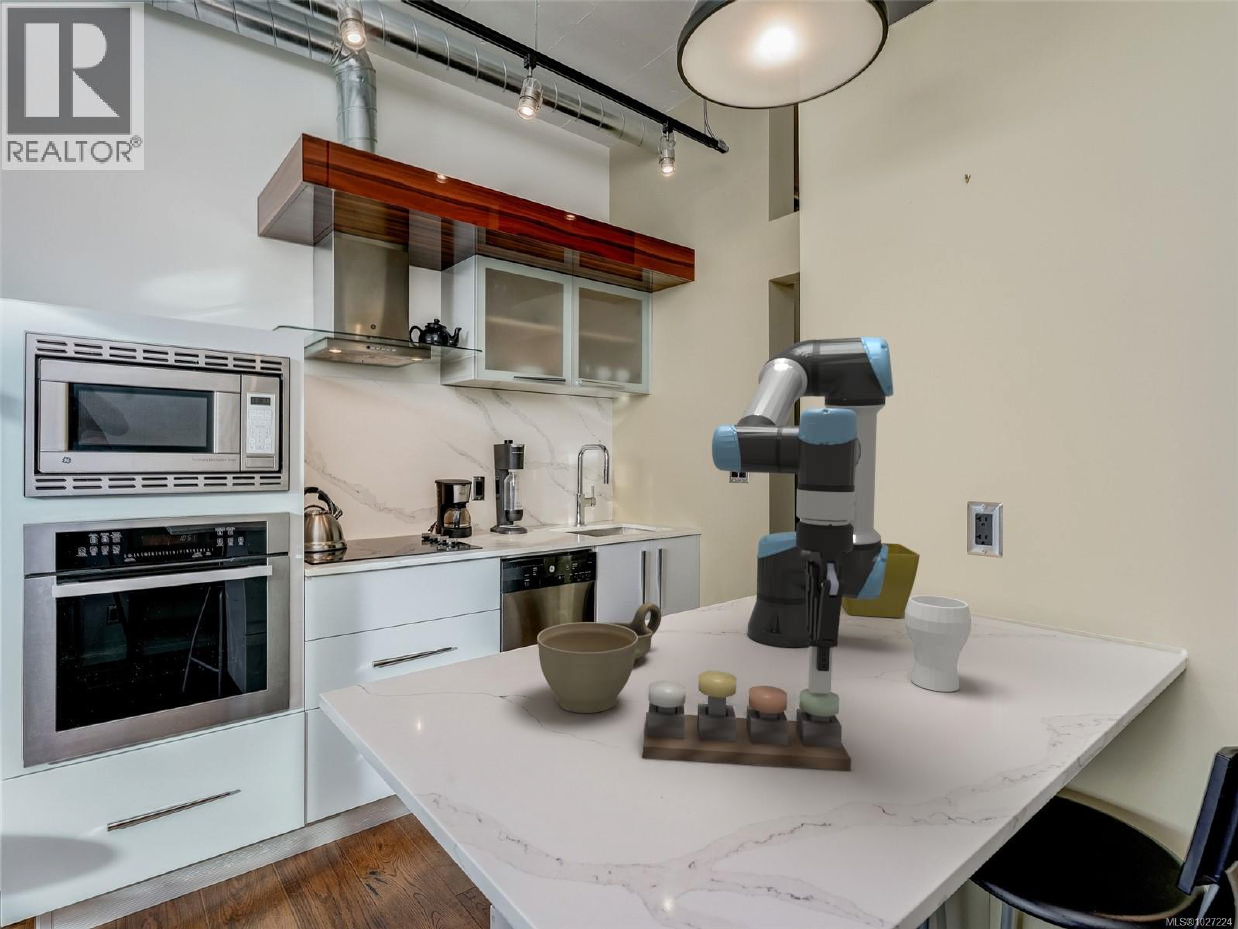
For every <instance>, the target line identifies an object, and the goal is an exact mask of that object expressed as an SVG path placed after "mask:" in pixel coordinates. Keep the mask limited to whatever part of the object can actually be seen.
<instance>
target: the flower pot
mask: <svg viewBox="0 0 1238 929" xmlns="http://www.w3.org/2000/svg"><path fill="white" fill-rule="evenodd" d="M881 544H885V545H887V546H888V556H887V561H886V568H885V574H884V579H883V584H882V589H881V593H880V595H879V596H878V597H877V598H876V599H855V598H847V597H842V602H841V607H842V608H843V609H844V610H845V612H846V613H847V614H848V615H850V616H861V617H879V618H894V619H895V618H901V617H902V615H903V613H905V610H906V606H907V603H908V599H909V598H910V597H911V595H912V594H911V593H912V591H913V587H914V583H915V580H916V575H917V572H918V567H919V563H920V562H919V561H920V554H919V553H917V552H916V551H913V550H912V549H910V548H908V547H906V546H905V545H903V544H900V543H889V542H888V543H887V542H885V543H884V542H881Z"/></svg>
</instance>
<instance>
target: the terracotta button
mask: <svg viewBox="0 0 1238 929" xmlns="http://www.w3.org/2000/svg"><path fill="white" fill-rule="evenodd" d="M748 706H750V707H751V708H752V709H754V710H757V717H758V718H763V719H777V715H778V713H781V712H784V713H785V711H787V709H788V693H787V692H786V691H785V690H783V689H781V688H779V687H775V686H771V685H756V686H752V687H751V688H749V689H748Z"/></svg>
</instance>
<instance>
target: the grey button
mask: <svg viewBox="0 0 1238 929" xmlns="http://www.w3.org/2000/svg"><path fill="white" fill-rule="evenodd" d="M647 693H648V694H647V695H648V696H647V697H648V701H649V702H650V703H652V704H654V705H656V706H658V712H659V713H675V707H678V706H681V705H683V704H684V705H685V703H686V686H685V685H684V684H683V683H680V682H677V681H674V680H656V681H653V682H651V683H649V685H648V692H647ZM649 702H648V703H649Z"/></svg>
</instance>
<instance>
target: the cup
mask: <svg viewBox="0 0 1238 929" xmlns="http://www.w3.org/2000/svg"><path fill="white" fill-rule="evenodd" d="M970 612H971V611H970V607H969V605H968V603H967V602H965V601H963V600H960V599H956V598H953V597H946V596H941V595H929V594H928V595H927V594H922V595H921V594H917V595H912V596H911V595H910V597H909V599H908V602H907V605H906V607H905V609H904V626H905V628H906V633H907V635H908V638H909V640H910V642H911V644H912V647H913V653H914V654H913V655H914V663H913V669H912V672H911V677H910V678H911V679H910V680H911V682H912V683H913V684H915V685H916V686H918V687H920V688H922V689H923V688H924V689H927V690H931V691H935V692H943V693H945V692H946V693H949V692H955V691H959V690H960V680H959V673H958V662H959V659H960V658H959V656H960V653H961V652H962V650H963V648H964V647H966V644H967V642H968V639H969V638H970V634H971V630H972V617H971V613H970Z"/></svg>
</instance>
